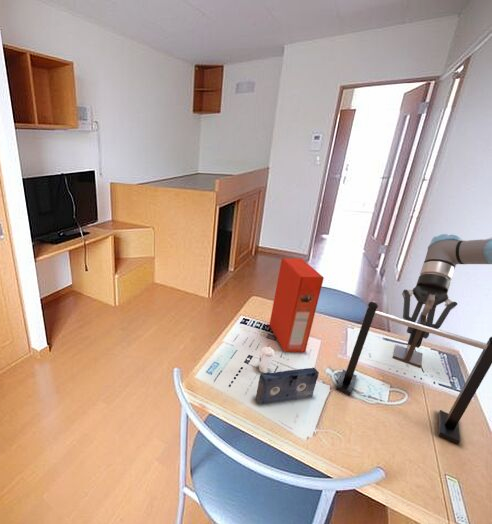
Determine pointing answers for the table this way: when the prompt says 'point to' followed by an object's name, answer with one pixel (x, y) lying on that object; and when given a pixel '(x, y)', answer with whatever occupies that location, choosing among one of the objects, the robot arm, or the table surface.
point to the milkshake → (265, 358)
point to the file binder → (295, 303)
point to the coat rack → (446, 422)
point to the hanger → (414, 340)
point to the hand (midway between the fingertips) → (413, 344)
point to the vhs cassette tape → (286, 385)
